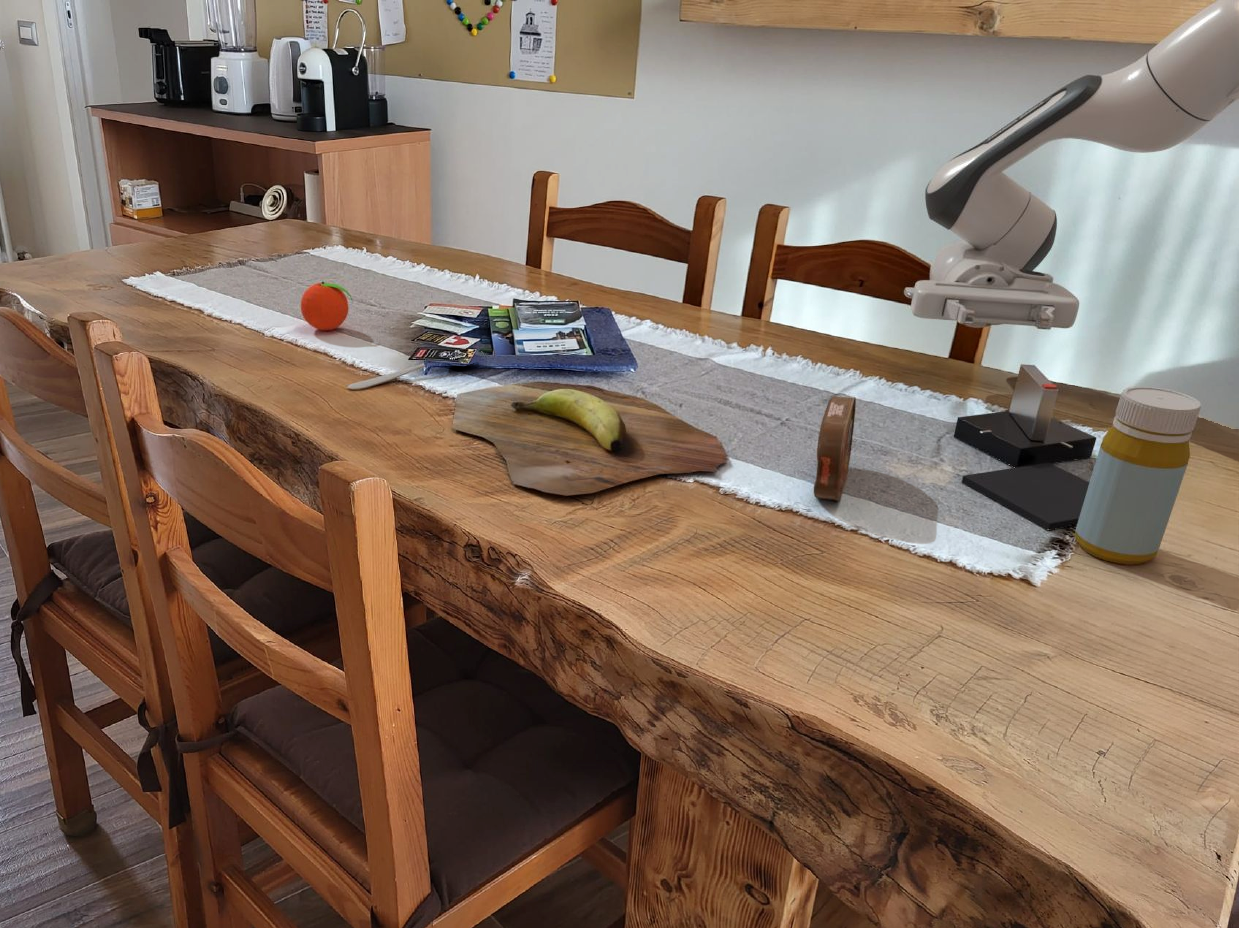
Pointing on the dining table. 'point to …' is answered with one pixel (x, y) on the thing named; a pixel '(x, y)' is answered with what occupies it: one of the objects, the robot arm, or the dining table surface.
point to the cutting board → (582, 436)
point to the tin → (834, 448)
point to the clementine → (325, 306)
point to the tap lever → (1033, 402)
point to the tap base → (1023, 440)
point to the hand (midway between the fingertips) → (1006, 320)
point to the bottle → (1137, 475)
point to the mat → (1035, 492)
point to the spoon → (382, 378)
